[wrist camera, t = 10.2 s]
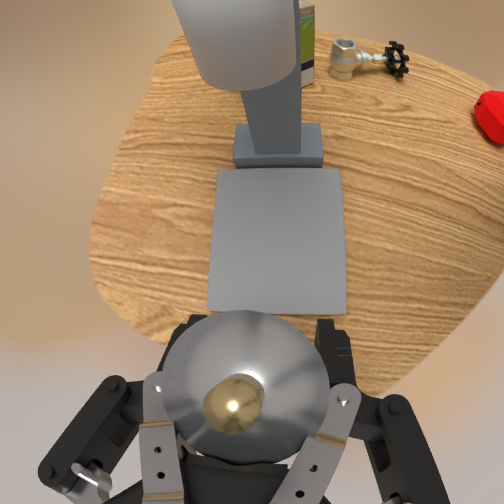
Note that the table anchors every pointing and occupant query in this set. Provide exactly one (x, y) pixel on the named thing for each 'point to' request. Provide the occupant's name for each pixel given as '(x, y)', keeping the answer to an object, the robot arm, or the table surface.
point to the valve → (364, 58)
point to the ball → (491, 115)
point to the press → (268, 167)
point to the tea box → (307, 41)
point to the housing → (245, 387)
